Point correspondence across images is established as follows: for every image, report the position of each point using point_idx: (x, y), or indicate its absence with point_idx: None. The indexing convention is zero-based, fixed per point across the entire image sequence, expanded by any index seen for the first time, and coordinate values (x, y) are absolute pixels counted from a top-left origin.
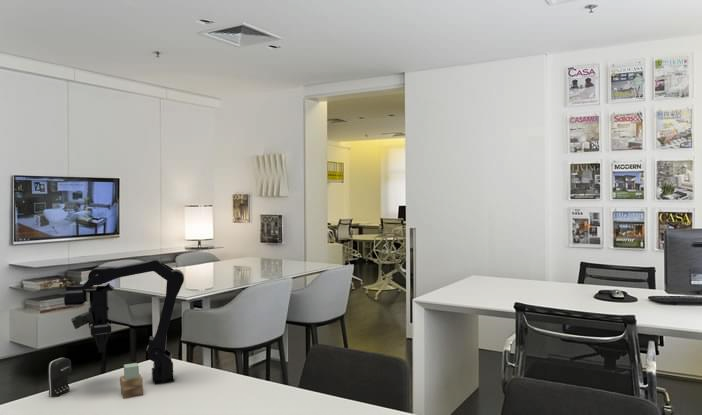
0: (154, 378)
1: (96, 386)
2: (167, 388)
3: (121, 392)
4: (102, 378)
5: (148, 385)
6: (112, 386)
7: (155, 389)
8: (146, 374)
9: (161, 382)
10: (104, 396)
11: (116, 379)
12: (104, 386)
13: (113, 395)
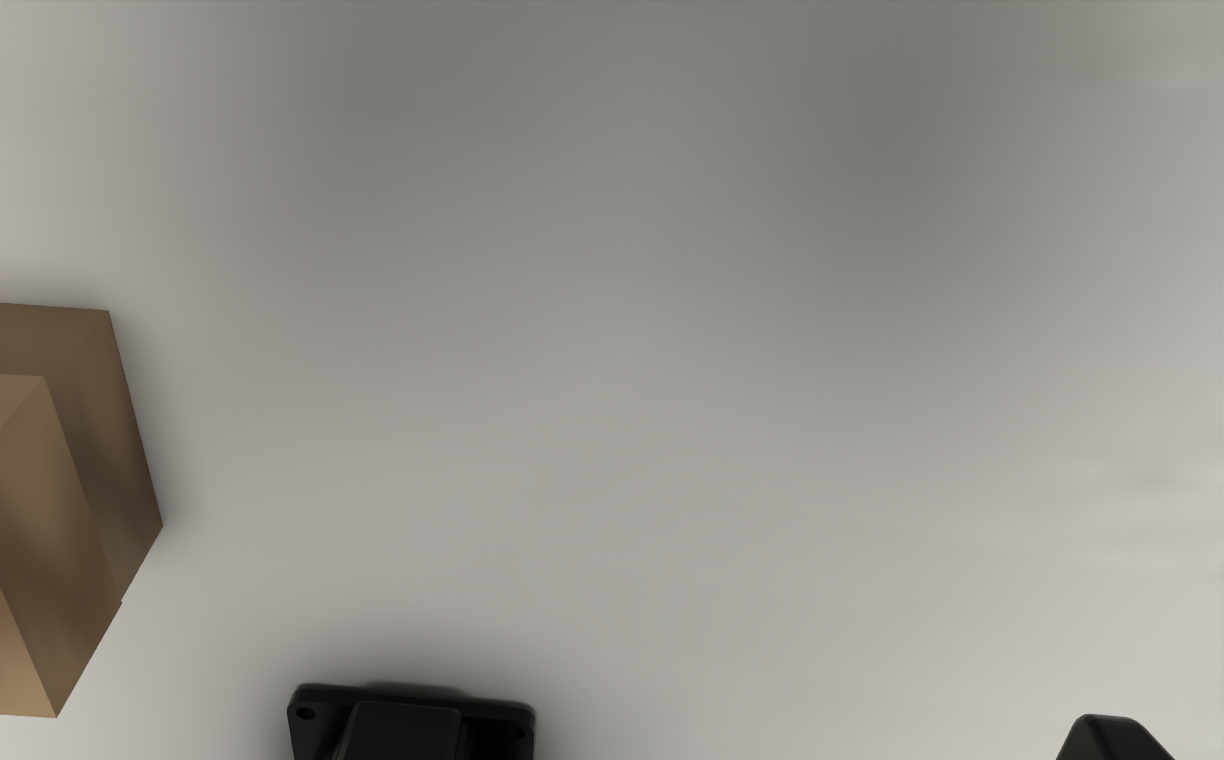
0: (344, 742)
1: (716, 32)
2: (92, 732)
3: (31, 322)
4: (1162, 204)
5: (310, 626)
6: (536, 266)
7: (104, 646)
8: (825, 702)
9: (295, 744)
10: (25, 69)
11: (896, 379)
12: (619, 158)
13: (31, 201)
